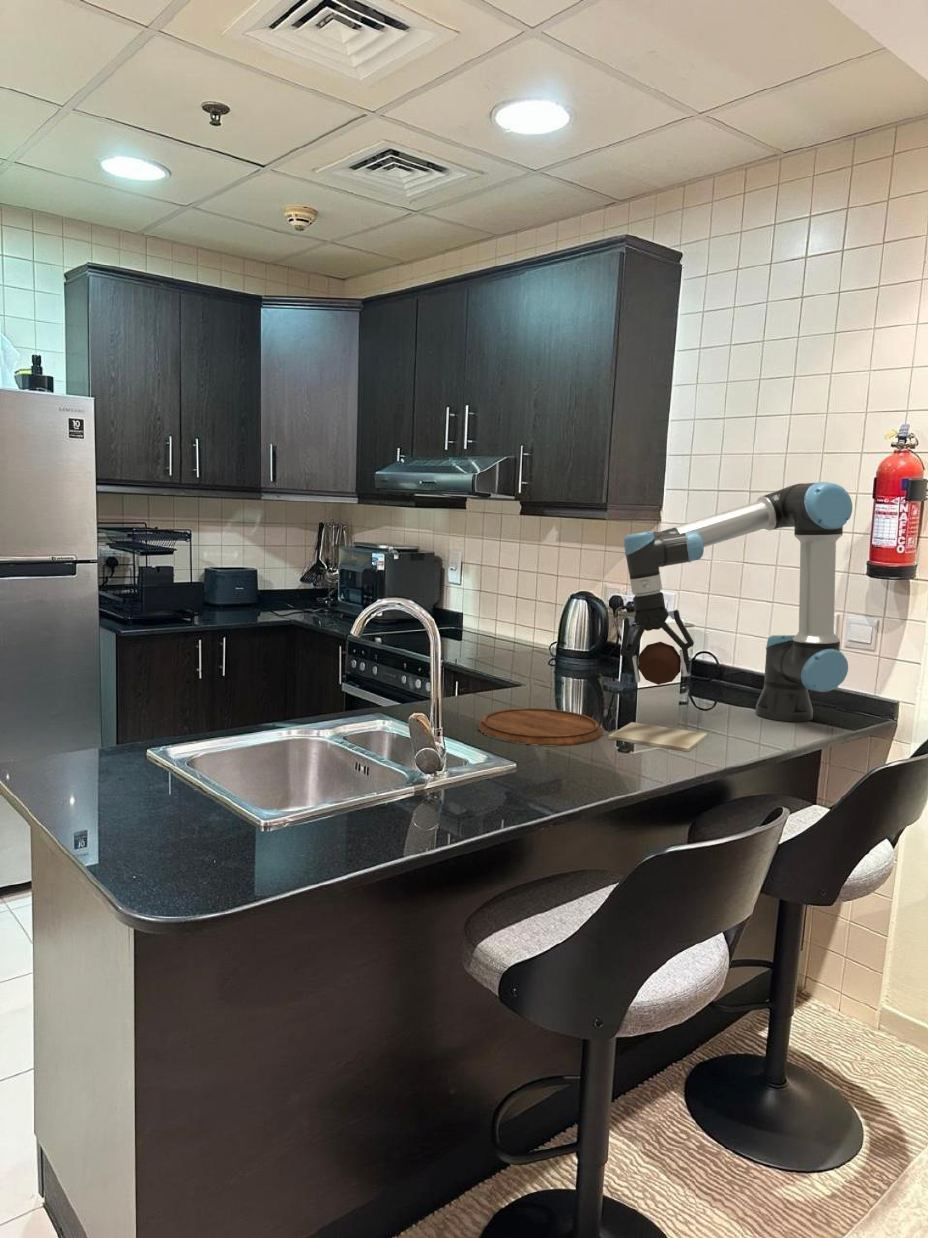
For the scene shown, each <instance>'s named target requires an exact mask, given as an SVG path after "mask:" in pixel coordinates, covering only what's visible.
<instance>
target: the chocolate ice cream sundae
mask: <svg viewBox="0 0 928 1238" xmlns="http://www.w3.org/2000/svg"><path fill="white" fill-rule="evenodd" d="M637 662H638V669H639V673H640V674H641V675H642V677H643V678H644V680H645V681H647V682H650V683H652V684H654V685H658V686H659V685H664V684H668V683H672V682H673V681H674V680H675V679H676V678H677V676H678V675H679V674H680V673H681V672H682V671H681V669H682V665H681V659H680V653H679V652H678V651H677V649H676V648H675V647H674V646H673V645H671V644H669V643H666V642H663V641H657V642H654V643H650V644H647V645H646V646H645V647H644V648H643V649H642V650H641V652H640V653H639V654H638V659H637Z"/></svg>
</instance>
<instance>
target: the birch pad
mask: <svg viewBox="0 0 928 1238" xmlns="http://www.w3.org/2000/svg"><path fill="white" fill-rule="evenodd" d="M706 738H708V733H706V732H700V731H692V730H687V729H686V730H685V729H680V728H673V727H665V726H659V725H653V724H646V723H641V722H633V721H631V722H629V723H628V724H626V725H624V726H623V727H620V729H617V730H616V731H614V732H612V733H611V734H608V736H607V739H608V740H612V741H613V740H614V741H619V742H626V743H632V744H639V745H645V746H650V747H656V748H657V747H658V748H663V749H669V750H676V751H682V752H690V751H691V750H692V749H694V748H695V747H697V745H699V744H700V743H702V741H704V740H706Z"/></svg>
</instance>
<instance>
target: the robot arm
mask: <svg viewBox="0 0 928 1238" xmlns="http://www.w3.org/2000/svg"><path fill="white" fill-rule="evenodd" d="M852 513H853V501H852V498H851V495H850V494H849V492H848V491H847V490H846V489H845V488H844V487H843V486H841V485H840V484H837V483H833V482H828V481H820V482H809V483H808V482H806V483H796V484H792V485H789V486H786V487H783V488H781V489H779V490H776V491H772V492H770V493H768V494H765V495H761V496H760V497H758V498H757V500H756V501H755V502H752V503H748V504H746V505H742V506H738V507H736V508H733V509H728V510H726V511H722V512H720V513H716V514H712V515H709V516H706V517H703V518H701V519H697V520H693V521H689V522H687V523H684V524H680V525H676V526H674V527H672V528H667V529H665V530H664V529H663V530H661V531H651V530H648V531H644V532H639V533H632V534H627V535H626V536H625V537H624V541H623V543H624V555H625V559H626V564H627V569H628V570H627V571H628V575H629V580H630V587H631V594H632V595H634V596H633V599H632V600H633V606H634V611H635V612H634V613H635V615H634V616H630V617H629V616H625V617H624V618H623V624H624V629H623V635H622V641H621V645H620V646H621V647H620V651H619V655H620V656H622V657H626V658H627V660H628V667H629V669H630V670H631V671H632V670H634V671H633V672H634V676H635V682H636V683H640V682H641V673H640V671H639V669H638V658H637V655H634V654H635V652H636V649H637V647H638V645H639V643H640V640H641V638H642V637H643V634H644V632H645V631H647V632H649V631H653V630H656V631H657V630H660V629H662V630H663V631H665V633H666V634H667V635H668V636H669V637H670V638H671V639H672V640H673V642H674V643H676V645H678V647H679V648H680V649H679V652H678V654H679V655H680V659H681V669H682V671H681V672H682V676H683V677H687V676H688V672H687V666H686V663H689V662H690V656H689V655H690V654H689V648H691V647H693V646H694V644H695V641H694V640H693V638H692V636H691V635H690V633H689V630H688V629H687V627H686V626H685V624H684V622H683V620H682V618H681V616H680V610H679V609H675V610H669V611H668V609H667V607H666V603H665V598H664V593H663V592H662V590H663V585H662V578H661V572H660V568H662V567H663V568H665V567H667V566H673V565H679V564H685V563H691V562H694V561H699V560H700V559H702V558H703V555H704V549H705V548H706V547H708V546H712V545H715V544H719V543H722V542H725V541H729V540H731V539H735V538H737V537H741V536H744V535H748V534H751V533H755V532H758V531H761V530H764V529H765V530H766V531H774V530H776V529H780V528H781V529H782V528H794V531H793V532H794V537H795V538H796V539H797V540H798V541H799V544H800V549H799V550H800V551H799V552H800V553H799V555H800V556H799V601H798V602H799V606H798V607H799V609H798V633H797V634H796V635H789V634H788V635H785V634H784V635H781V634H779V635H778V634H777V635H770V636H769V637H768V638H767V641H766V647H765V650H766V651H765V663H764V665H765V666H764V683H763V689H762V691H761V693H760V695H759V697H758V700H757V702H756V705H755V714H756V715H757V716H759V717H762V718H765V719H769V720H774V721H781V722H796V723H799V722H801V723H802V722H808V721H811V720H813V715H814V709H813V705H812V702H811V701H812V700H811V698H810V694H809V691H814V692H815V691H816V692H820V693H826V692H831V691H833V690H835V689H836V688H838V687H839V686H840V685H841V684H842V683H843V682H844V680H846V677H847V676H848V672H849V663H848V660H847V657H846V656H845V655H844V654H843V652H841V647H840V645H841V639H840V638H839V637H838V635H836V633H835V605H836V604H835V603H836V602H835V600H836V599H835V598H836V597H835V595H836V561H837V560H836V555H837V554H836V553H837V549H836V548H837V541H839V539H840V538H841V537H842V536H843V531H844V526H845V525H846V524H847V522H848V520H850V519H851V516H852ZM668 617H671V620H674V622H675V623H676V625H677V627H678V629H679V631H680V632H681V634H682V636H683V638H684V639H685V641H686V643H685V642H684V640H683V639H682V638H681V637H680V636H679V635H678V634H677V633H676V632H675V631H674V629H672V628H671V627H670V625H669V624H668V623H667V622H666V621H667V619H668ZM634 622H636V624H638V626H639V629H638V631H637V633H636V635H635V637H634V640H633V641H632V644H631V646H630V648H629V651H628V649H627V648H628V643H629V638H630V634H631V626H632V625H633V624H634Z"/></svg>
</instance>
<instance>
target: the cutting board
mask: <svg viewBox="0 0 928 1238" xmlns="http://www.w3.org/2000/svg"><path fill="white" fill-rule="evenodd" d="M478 727H479V729H481V730H482V731H483V732H484V733H486V734H489V735H491V736H493V737H500V738H503V739H506V740H509V741H514V742H519V743H529V744H538V745H557V746H556V747H570V746H579V745H585V744H589V743H592V742H595V741H597V740H599V739H601V738H602V737H603V734H604V731H603V729H602V727H601V725H600V724H599V722H598V721H597V720H596V719H595V718H592V717H590V716H588V715H585V714H582V713H578V712H573V711H568V710H562V709H561V710H560V709H555V708H554V709H553V708H541V707H540V708H538V707H536V708H535V707H530V708H529V707H528V708H527V707H523V708H522V707H520V708H518V707H517V708H508V709H501V710H495V711H491V712H489V713H486V714H485V715H484V716H483V717H482V718H481V719H480V721H479V722H478V723H477V728H478ZM558 745H559V746H558ZM560 745H561V746H560Z"/></svg>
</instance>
